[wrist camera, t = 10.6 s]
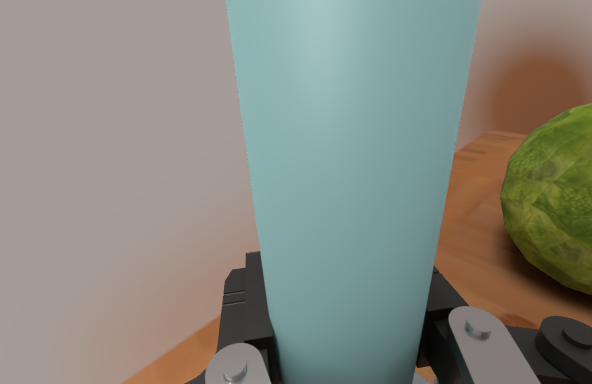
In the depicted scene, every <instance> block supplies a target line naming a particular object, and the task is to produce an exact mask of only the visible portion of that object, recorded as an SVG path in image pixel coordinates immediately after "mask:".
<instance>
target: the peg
mask: <svg viewBox="0 0 592 384" xmlns="http://www.w3.org/2000/svg"><path fill="white" fill-rule="evenodd" d="M481 2H482V0H226V6H227V14H228V21H229V28H230V35H231V43H232V49H233V57H234V64H235V72H236V79H237V86H238V93H239V101H240V107H241V115H242V123H243V130H244V137H245V144H246V151H247V159H248V166H249V173H250V181H251V188H252V195H253V202H254V209H255V217H256V224H257V231H258V239H259V245H260V253H261V261H262V268H263V275H264V282H265V290H266V297H267V304H268V311H269V317H270V320H271V323H272V329H273V336H274V344H275V351H276V359H277V366H278V373H279V381H280V384H412V383H413V377H414V372H415V366H416V361H417V355H418V350H419V344H420V339H421V333H422V328H423V322H424V317H425V311H426V306H427V300H428V295H429V289H430V284H431V278H432V272H433V267H434V261H435V256H436V250H437V245H438V239H439V234H440V228H441V223H442V217H443V212H444V206H445V201H446V195H447V190H448V184H449V179H450V173H451V167H452V162H453V156H454V151H455V145H456V139H457V134H458V129H459V123H460V118H461V112H462V106H463V101H464V95H465V90H466V85H467V79H468V74H469V68H470V62H471V57H472V51H473V46H474V40H475V35H476V29H477V23H478V18H479V13H480V7H481Z"/></svg>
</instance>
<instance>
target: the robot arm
mask: <svg viewBox="0 0 592 384" xmlns="http://www.w3.org/2000/svg"><path fill="white" fill-rule="evenodd" d="M416 366H417V368H421V367H426V366H431V368H432V370H433V371H434V373H435V378H434V384H592V328H591V327H589V326H588V325H586V324H584V323H581V322H579V321H576V320H574V319H570V318H567V317H561V316H551V317H547V318H545V319H544V320H543V321H542V323H541V325H540V328H539V330H537V329H529V328H521V327H512V326H506V325H504V324H503V323H502V322H501V321H500V320H499V319H497V318H496V317H495V316H493V315H492V314H490V313H488V312H486V311H484V310H482V309H479V308H475V307H470V306H469V305H468V304H467V303H466V302H465V301H464V299H463V298H462V297H461V296H460V295H459V294H458V293H457V291H456V290H455V289H454V288H453V287H452V286H451V285H450V283H449V282H448V281H447V280H446V279H445V278H444V277H443V275H442V274H440V273H439V271H438V270H437V269H436V267H435V266H434V267H433V272H432V278H431V284H430V289H429V295H428V300H427V306H426V311H425V317H424V322H423V328H422V333H421V339H420V344H419V350H418V355H417V361H416ZM185 384H280V381H279V373H278V366H277V359H276V351H275V344H274V336H273V329H272V323H271V320H270V317H269V311H268V304H267V297H266V290H265V282H264V275H263V268H262V261H261V253H260V251H258V252H251V253H246V268H241V269H234V270H232V271H231V272H230V274H229V276H228V277H227V279H226V280H225V285H224V296H223V306H222V312H221V320H220V329H219V337H218V346H217V351H216V354H215V356H214V357H213V358H212V359H211V361H210V362H209V364H208V366H207V368H206V369H205V370H204V371H203V372H202V373H201V374H200V375H199V376H197V377H196V378H194V379H193V380H191V381H189V382H187V383H185Z"/></svg>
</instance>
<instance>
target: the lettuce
mask: <svg viewBox="0 0 592 384" xmlns="http://www.w3.org/2000/svg"><path fill="white" fill-rule="evenodd" d="M500 199H501V205H502V211H503V217H504V222H505V228H506V232H507V233H508V235H509V236H510V237H511V239H512V240H513V241H514V243H515V244H516V246H517V247H518V248H519V250H520V251H521V253H522V254H523V255H524V257H525V258H526V260H527V261H528V262H529V263H531V264H532V265H534V266H535V267H537V268H538V269H540V270H541V271H543V272H544V273H546V274H547V275H549V276H550V277H552V278H553V279H555V280H556V281H558V282H559V283H561V284H562V285H564V286H565V287H568V288H571V289H574V290H577V291H580V292H583V293H586V294H589V295H592V103H590V104H586V105H583V106H579V107H575V108H572V109H568V110H566V111H565V112H563V113H561V114H560V115H558V116H556V117H555V118H553V119H552V120H550V121H548V122H547V123H545V124H543V125H542V126H540V127H538V128H537V129H535V130H533V131H532V132H531V133H530V134H529V136H528V137H527V138H526V139H525V141H524V142H523V143H522V144H521V145H520V147H519V148H518V149H517V150H516V152H515V153H514V154H513V155H512V156H511V158H510V160H509V163H508V166H507V170H506V174H505V178H504V182H503V186H502V190H501V197H500Z"/></svg>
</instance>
